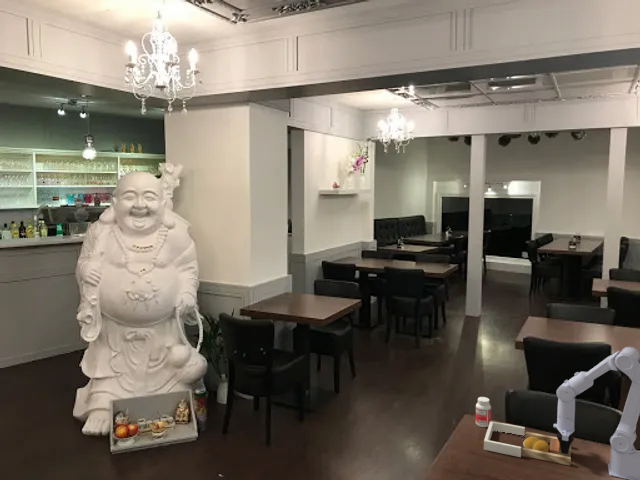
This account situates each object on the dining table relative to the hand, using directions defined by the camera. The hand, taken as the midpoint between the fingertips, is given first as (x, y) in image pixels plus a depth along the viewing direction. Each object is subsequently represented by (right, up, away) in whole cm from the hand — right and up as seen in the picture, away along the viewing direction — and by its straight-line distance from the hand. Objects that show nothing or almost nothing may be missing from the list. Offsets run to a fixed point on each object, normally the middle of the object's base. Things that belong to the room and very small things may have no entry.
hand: (564, 450), depth 187 cm
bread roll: (-9, -2, +5) cm, 10 cm away
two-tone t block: (-1, -2, +1) cm, 2 cm away
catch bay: (-18, -1, +9) cm, 21 cm away
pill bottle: (-22, 0, +25) cm, 33 cm away
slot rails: (-5, -1, +3) cm, 6 cm away
